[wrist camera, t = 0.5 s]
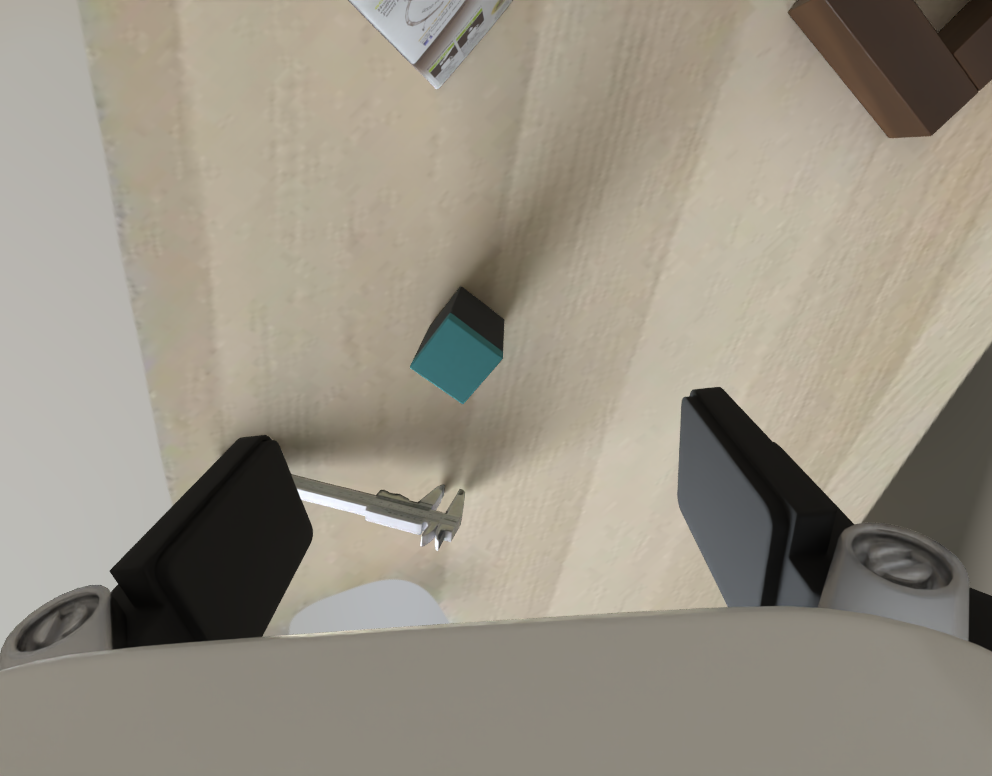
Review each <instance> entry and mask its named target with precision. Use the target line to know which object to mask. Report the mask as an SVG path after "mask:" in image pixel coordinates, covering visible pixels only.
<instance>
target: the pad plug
mask: <svg viewBox="0 0 992 776" xmlns="http://www.w3.org/2000/svg"><path fill="white" fill-rule="evenodd" d="M503 340H504V319H503V318H502V317H500V316H499V315H498V314H497V313H495V312H494V311H493V310H491V309H490V308H489V307H488V306H486V305H485V304H484V303H482V302H481V301H480V300H478V299H477V298H476V297H475V296H473V295H472V294H471V293H469V292H468V291H467V290H466V289H464V288H463V287H461V286H460V287H459V289H458V290H457V291H456V292H455V294H454V295H453V296H452V298H451V299H450V300H449V302H448V303H447V304H446V306H445V307H444V308H443V310H442V311H441V312H440V313H439V315H438V316H437V317H436V319H435V320H434V321H433V323H432V324H431V325H430V327H429V329H428V331H427V333H426V335H425V337H424V339H423V341H422V343H421V345H420V347H419V349H418V351H417V353H416V355H415V357H414V360H413V361H412V363H411V365H410V368H411V369H412V370H414V371H415V372H417V373H418V374H420V375H421V376H422V377H424V378H425V379H427V380H428V381H430V382H431V383H433V384H434V385H435V386H437V387H438V388H440V389H441V390H443V391H444V392H446V393H447V394H448V395H450V396H451V397H453V398H454V399H456V400H457V401H459V402H460V403H461V404H464V403H465V402H466V401H467V399H468V398H469V397H470V396H471V395H472V394H473V393H474V391H475V390H476V389H477V388H478V387H479V386H480V385H481V383H482V382H483V381H484V380H485V379H486V378H487V376H488V375H489V374H490V373H491V372H492V371H493V370H494V368H495V367H496V366H497V365H498V364H499V363H500V361H501V360H502V359H503Z"/></svg>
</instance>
